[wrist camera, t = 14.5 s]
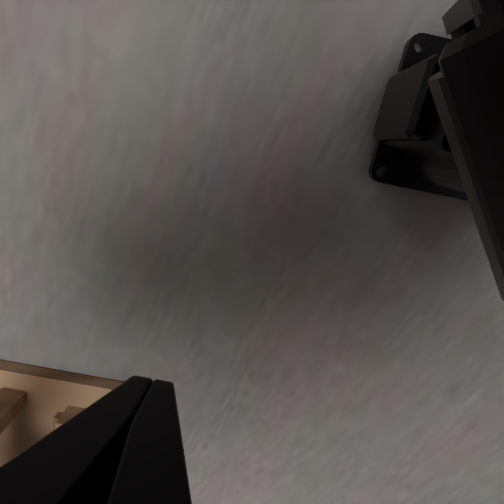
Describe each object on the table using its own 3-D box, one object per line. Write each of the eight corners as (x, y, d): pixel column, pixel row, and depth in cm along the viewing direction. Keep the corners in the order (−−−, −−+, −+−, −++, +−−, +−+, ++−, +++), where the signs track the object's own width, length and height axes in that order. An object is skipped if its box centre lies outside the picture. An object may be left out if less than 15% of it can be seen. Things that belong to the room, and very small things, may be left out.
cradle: (163, 389, 22) (137, 456, 17) (146, 506, 25) (119, 591, 20) (-89, 344, 21) (-189, 401, 16) (-76, 469, 24) (-157, 548, 19)
